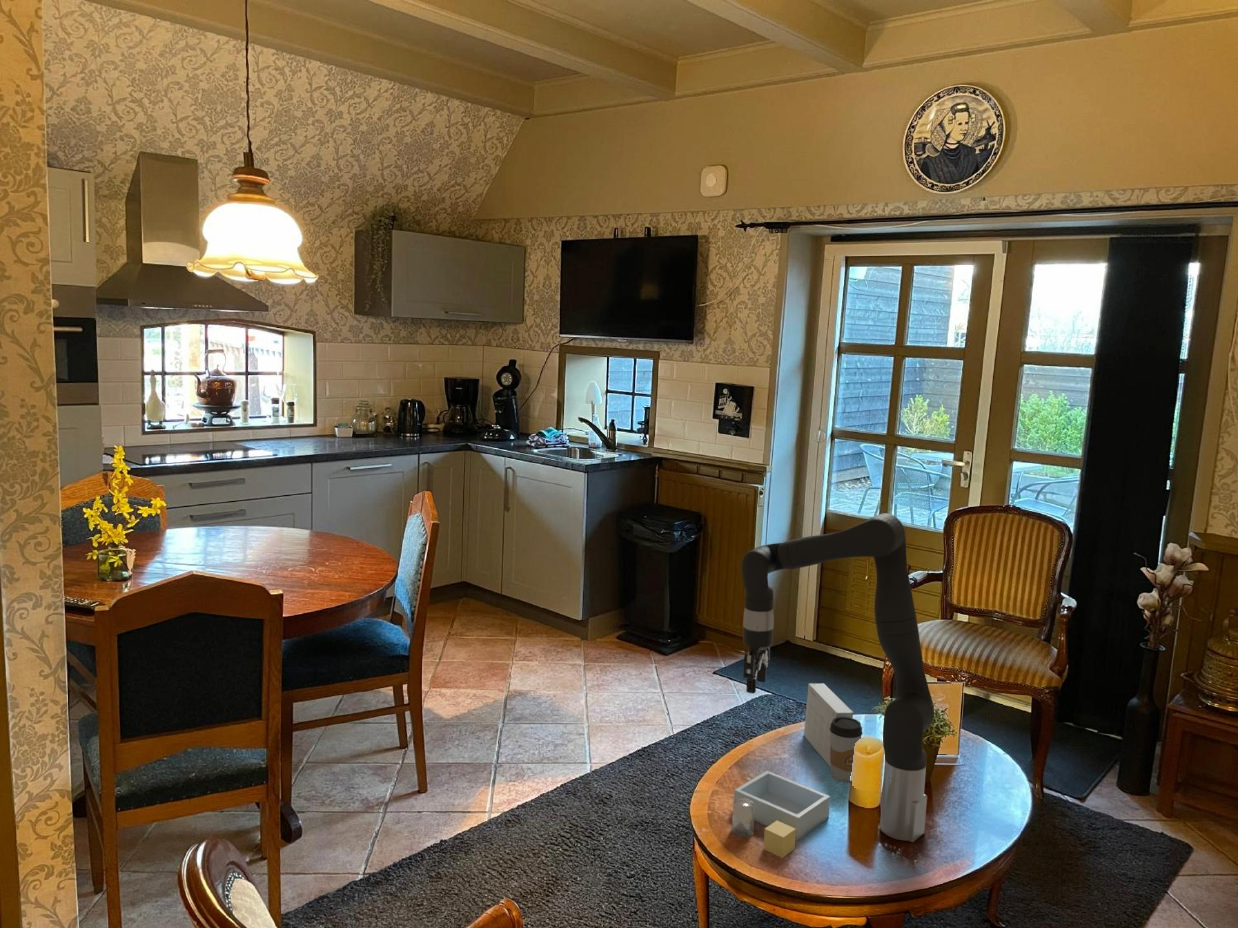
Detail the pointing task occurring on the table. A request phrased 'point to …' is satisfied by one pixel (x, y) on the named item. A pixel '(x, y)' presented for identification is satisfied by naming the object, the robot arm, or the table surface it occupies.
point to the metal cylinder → (743, 817)
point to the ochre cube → (779, 838)
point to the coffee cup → (843, 746)
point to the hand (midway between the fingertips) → (756, 686)
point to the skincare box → (822, 717)
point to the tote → (785, 802)
